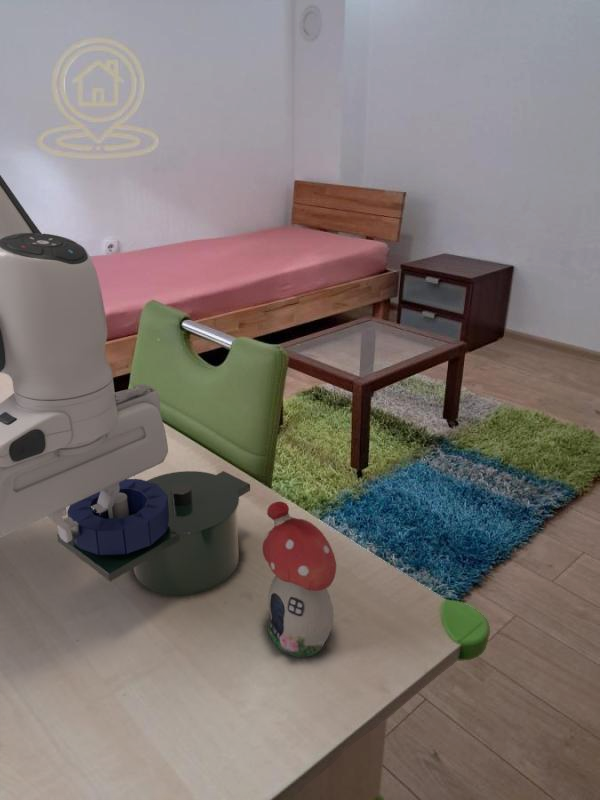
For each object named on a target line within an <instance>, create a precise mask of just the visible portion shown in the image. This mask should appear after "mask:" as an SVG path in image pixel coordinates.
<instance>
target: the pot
mask: <svg viewBox="0 0 600 800" xmlns="http://www.w3.org/2000/svg"><path fill="white" fill-rule="evenodd" d="M146 481H148V482H151V483H155V484H157V485H159V487H160V488H161V489H162V490H163V491H164V492H165V493H166V494H167V496H168V509H169V521H168V527H167V531H166V532H165V533H164V534H163V535H162V536H161V537H160V538H159V539H157V540H156V541H155V542H154V543H153V544H152V545H151V544H150V546H147V547H144V548H142V549H139V550H136V551H133V552H130V553H126V554H116V555H100V554H99V555H97V554H94V553H92V552H89V551H86V550H83V549H80V548H79V547H78V546H77V545H76V543H75V541H74V540H72V541H70V542H68V543H66V542H65V541H63V540H62V539H61V538H60V536H59V534H58V533H57V534H56V537H57V542H58V543H59V544H60V545H62V546H63V547H65V549H67V550H68V551H69V552H71V553H72V554H74V555H75V556H76V557H77V558H79V559H80V560H81V561H82V562H83V563H85V564H86V565H88V566H89V567H90V568H91V569H93V570H94V571H96V572H97V573H98V574H99V575H101V576H102V577H103V578H104V579H106V580H107V581H109V582H113V580H116V579H117V578H119V577H121V576H122V575H124V574H126V573H128V572H129V571H131V570H133V572H134V575H135V577H136V579H137V580H138V582H139V583H140V584H141V585H142V586H144V587H146V588H147V589H149V590H151V591H152V592H155V593H159V594H163V595H167V596H168V595H169V596H188V595H189V596H190V595H194V594H199V593H203V592H206V591H209V590H212V589H213V588H216V587H217V586H219V585H220V584H222V583H224V582H226V580H227V579H228V578H230V577H231V576H232V574H233V573H234V572H235V570H236V569H237V567H238V564H239V559H240V558H239V557H240V556H239V554H240V553H239V529H238V528H239V527H238V507H239V504H240V497H241V496H243V495H246V494H248V493H249V492H250V491H251V484H250V483H248V482H246V481H244V480H242V479H240V478H239V477H236V476H235V475H233V474H230V473H229V472H226V471H224V470H223V471H220V472H219V473H217V474H215V473H212V472H211V473H210V472H205V471H193V470H191V471H190V470H186V471H183V470H182V471H175V472H169V473H164V474H161V475H158V476H155V477H151V478H150V479H148V480H146ZM112 511H113V518H124V517H127V516H130V515H133V514H136V513H137V512H134V511H129V508H128V500H127V495H126V494H124V493H118V496H117V498H116V500H115V503H114V505H113V507H112Z"/></svg>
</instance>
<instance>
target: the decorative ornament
mask: <svg viewBox="0 0 600 800" xmlns="http://www.w3.org/2000/svg"><path fill="white" fill-rule="evenodd" d="M289 511H290V507H289V505H288V504H287V503H286V502H284V501H275V502H272V503H271V504H270V505H268V508H267V510H266V514H267V516H268V517H269V518H270V519H271V520H272V521H273V523H274V526H273V527H272V529H270V530H269V532H267V534H266V535H265V537H264V540H263V544H262V555H263V557H264V559H265V561H266V562H267V564H268V566H269V568H270V570H271V572H272V574H274V577H273V578H272V581H271V583H270V586H269V590H268V597H267V599H268V600H267V602H268V609H269V613H270V620H269V621H268V623H267V631H268V634H269V637H270V639H271V640H272V641H273V643H274V645H275V646H276V647H277V648H278V649H279V650H280V651H281V652H282V653H284V654H287V655H289V656H291V657H295V658H297V659H300V658H306V657H311V656H312V657H313V656H315V655H318V653H319V652H320V651H321V650H322V649H323V647H324V645H325V642H326V641H327V640H328V638H329V635H330V634H331V631H332V629H333V623H334V607H333V602H332V599H331V596H330V593H329V590H328V588H329V587H330V586H331V585H332V583H333V582H334V580H335V577H336V572H337V562H336V557H335V554H334V551H333V549H332V546H331V544H330V543H329V540H328V539H327V538H326V536H325V535H324V534H323V532H322V531H321V530H320V529H319V528H318V527H317V526H316V525H314V524H313V523H312V522H311V521H309V520H307V519H303V518H297V517H293V516H291V515H290V514H289Z"/></svg>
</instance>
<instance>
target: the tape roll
mask: <svg viewBox="0 0 600 800" xmlns="http://www.w3.org/2000/svg"><path fill="white" fill-rule="evenodd" d="M119 487H120V491H119V493H124V494H126V495H127V500H128V508H129V511H134V512H137V513H136V514H133V515H130V516H127V517H124V518H111V519H105V518H102V517H99V516H96V515H94V514H93V513H92V511H91V506H93V505H95V504H97V502H98V498H99V495H100V492H101V491H100V492H98V493H96V494H93V495H91V496H89V497H87V498H85V499H83V500H80V501H78V502H76V503H74V504H72V505H70V506H68V509H67V510H66V513H67V518H68V517H70V518H72V519H73V521H76V522H77V523H79V532H80V536H79V537H78V538H76V539H74V541H75V543H76V545H77V546H78V547H79V548H80V549H83V550H86V551H89V552H92V553H94V554H97V555H99V554H100V555H116V554H126V553H130V552H133V551H136V550H139V549H142V548H144V547H147V546H150V544H151V545H152V544H153V543H154V542H155V541H156V540H157V539H159V538H160V537H161V536H162V535H163V534H164V533H165V532H166V531H167V527H168V521H169V509H168V496H167V494H166V493H165V492H164V491H163V490H162V489H161V488H160V487H159V485H157V484H155V483H151V482H148V481H147V480H145V479H141V478H128V479H126V480H124V481H122V482H119Z"/></svg>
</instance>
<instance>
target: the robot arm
mask: <svg viewBox="0 0 600 800" xmlns="http://www.w3.org/2000/svg"><path fill="white" fill-rule="evenodd" d="M107 340H108V325H107V317H106V312H105V304H104V298H103V294H102V287H101V283H100V280H99V276H98V272H97V269H96V267H95V264H94V262H93V260H92V258H91V256H90V254H89V251H87V249H86V248H85V247H84V246H82V245H81V244H79V243H77V242H76V241H74V240H73V239H70V238H68V237H64V236H60V235H57V234H52V233H51V234H50V233H43V232H41V231H40V229H39V228H38V227H37V225H36V224H35V223H34V221H33V220H32V218H31V216H30V215H29V214H28V213H27V211H26V210H25V207H23V205H22V203H20V201H19V199H18V198H17V197H16V195H15V194H14V193H13V191H12V190H11V188H10V187H9V185H8V183H6V181H5V179H4V178H3V176H2V175H1V174H0V374H4V375H7V376H9V378H10V379H11V381H12V388H13V393H12V394H11V395H9V396H8V397H7V398H5V399H4V400H3V401H1V402H0V538H3V537H5V536H7V535H10V534H11V533H14V532H16V531H18V530H20V529H22V528H25V527H26V526H29V525H31V524H33V523H35V522H37V521H39V520H41V519H42V520H43V519H44V518H46V517H47V518H48V519H49V520H50V521H52V522H53V523H54V524H56V528H57V529H56V530H57V534H59V536H60V538H61V539H62V540H63V541H65V542H66V543H68V542H70V541H72V540H74V539H76V538H78V537H79V536H80V532H79V523H77V522H76V521H73V519H72V518H70V517H68V516H67V507H68V508H69V507H70V505H72V504H74V503H76V502H78V501H80V500H83V499H85V498H87V497H89V496H91V495H93V494H96V493H98V492H100V491H101V492H100V495H99V498H98V502H97V504H95V505H93V506H91V511H92V513H93V514H94V515H96V516H99V517H102V518H105V519H111V518H113V511H112V507H113V505H114V503H115V500H116V498H117V496H118V493H119V491H120V487H119V482H122V481H124V480H126V479H131V478H132V477H135V476H137V475H139V474H141V473H143V472H146V471H147V470H150V469H152V468H155V467H156V466H158V465H160V464H162V463H164V461H165V460H166V458H167V455H168V454H169V445H168V439H167V434H166V429H165V425H164V421H163V418H162V415H161V413H160V412H161V400H160V399H161V398H160V393H159V392H158V390H157V389H156V388H154V387H153V386H150V385H147V384H145V383H140V384H137V385H134V386H132V387H130V388H128V389H123V390H120V391H116V392H115V384H114V377H113V370H112V368H111V366H110V364H109V362H108V358H107V354H106V344H107ZM64 516H67V517H66V518H63V517H64Z"/></svg>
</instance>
